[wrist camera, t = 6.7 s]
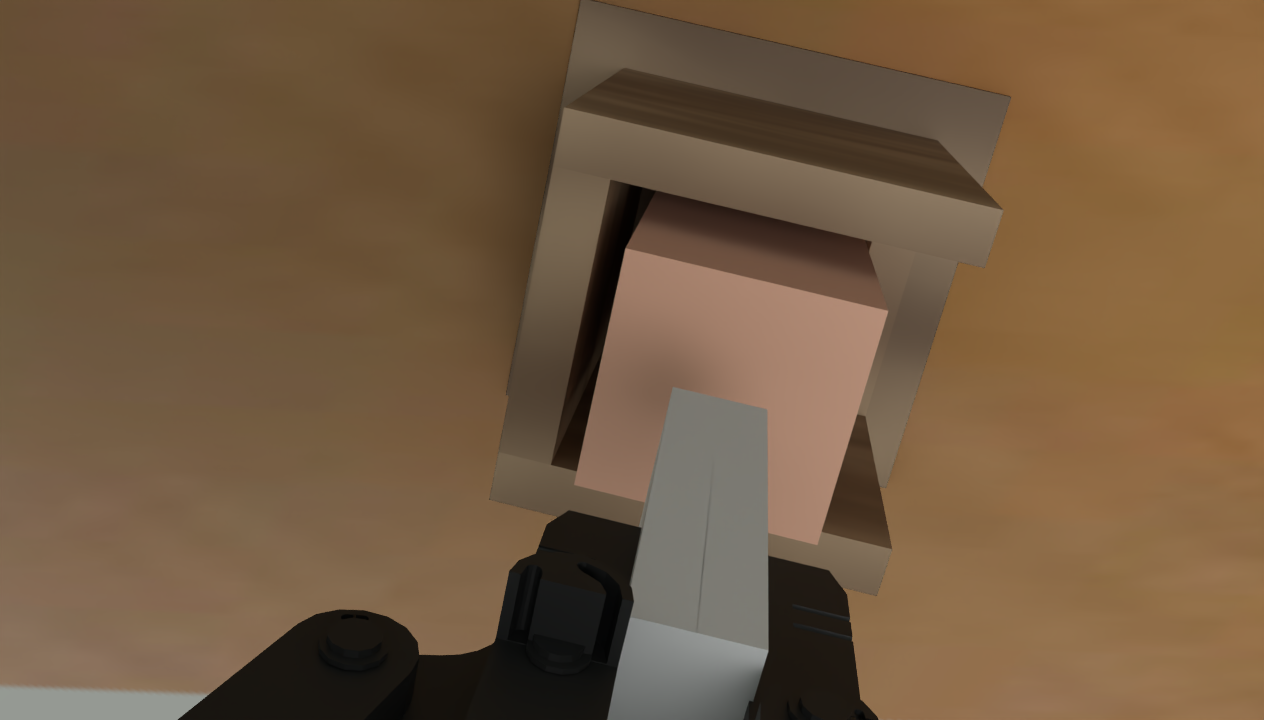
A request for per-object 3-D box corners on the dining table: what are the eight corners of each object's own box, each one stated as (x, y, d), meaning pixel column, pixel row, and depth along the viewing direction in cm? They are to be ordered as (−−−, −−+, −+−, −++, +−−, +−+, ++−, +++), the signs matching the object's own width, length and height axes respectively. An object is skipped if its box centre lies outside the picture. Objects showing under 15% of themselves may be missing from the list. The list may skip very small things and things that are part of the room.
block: (675, 154, 33) (625, 248, 22) (850, 195, 32) (888, 310, 21) (638, 320, 34) (574, 484, 23) (803, 360, 34) (817, 545, 23)
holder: (584, -3, 32) (502, 10, 23) (1006, 94, 32) (1109, 151, 22) (510, 388, 36) (412, 542, 27) (884, 479, 36) (924, 671, 26)
